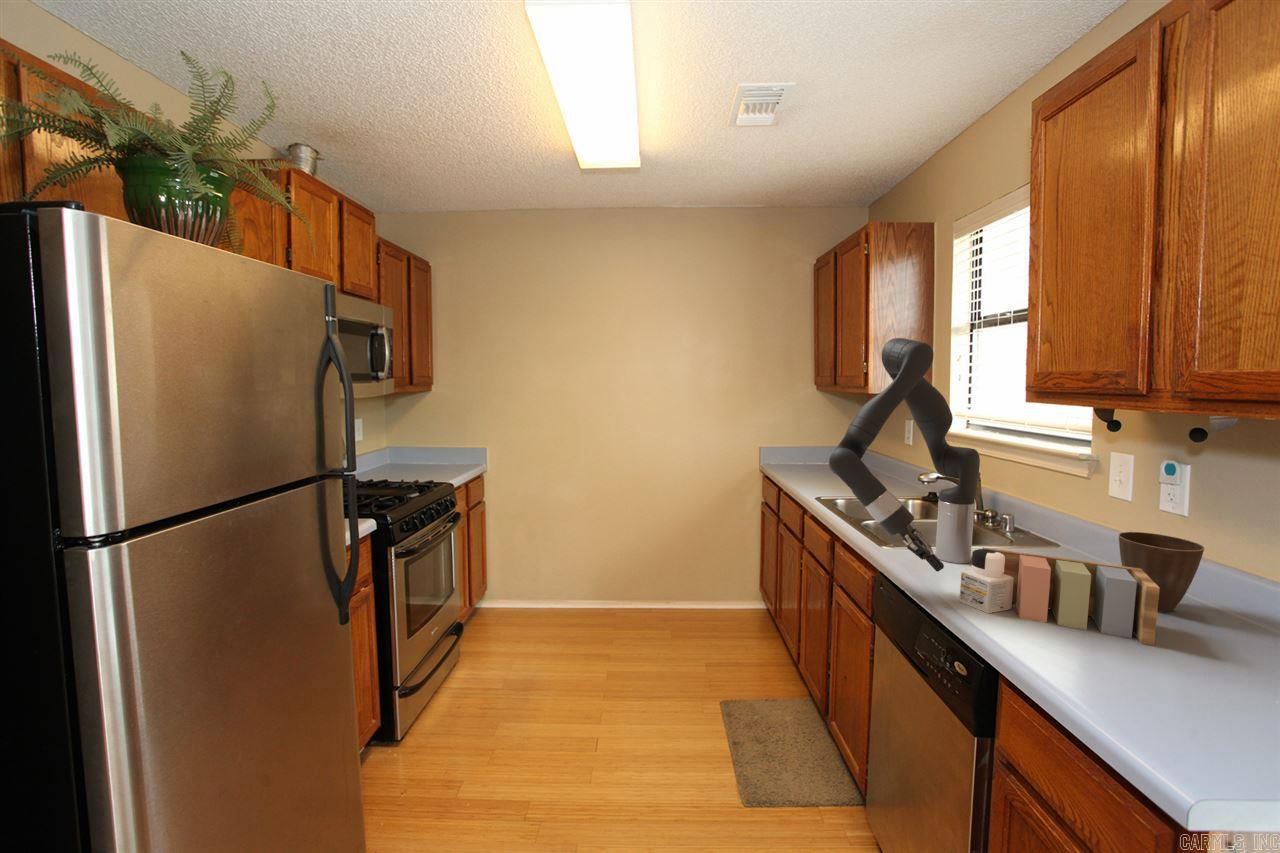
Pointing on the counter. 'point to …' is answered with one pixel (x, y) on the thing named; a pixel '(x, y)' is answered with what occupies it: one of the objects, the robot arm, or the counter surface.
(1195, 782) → the counter surface
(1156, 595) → the wooden book rack
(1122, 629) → the book
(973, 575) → the container
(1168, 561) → the plant pot
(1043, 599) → the book
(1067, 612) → the book
